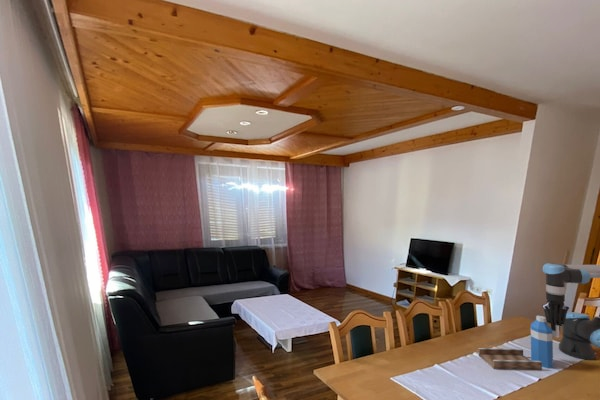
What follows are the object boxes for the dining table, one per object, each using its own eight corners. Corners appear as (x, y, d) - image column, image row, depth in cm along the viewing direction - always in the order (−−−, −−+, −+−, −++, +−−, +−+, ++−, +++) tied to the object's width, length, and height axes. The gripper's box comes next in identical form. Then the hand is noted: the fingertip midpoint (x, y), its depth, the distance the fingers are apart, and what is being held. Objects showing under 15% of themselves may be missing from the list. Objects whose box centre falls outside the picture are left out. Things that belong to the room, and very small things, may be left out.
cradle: (522, 356, 158) (522, 349, 158) (541, 370, 144) (541, 361, 145) (478, 355, 158) (478, 348, 158) (494, 369, 145) (494, 360, 145)
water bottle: (557, 369, 145) (556, 321, 146) (537, 367, 147) (536, 319, 148) (545, 359, 154) (545, 314, 155) (526, 357, 156) (526, 313, 157)
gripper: (561, 291, 156) (561, 333, 155) (537, 290, 156) (537, 333, 155) (573, 295, 148) (574, 340, 147) (549, 294, 148) (549, 339, 148)
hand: (555, 336), depth 151 cm, fingers closed
